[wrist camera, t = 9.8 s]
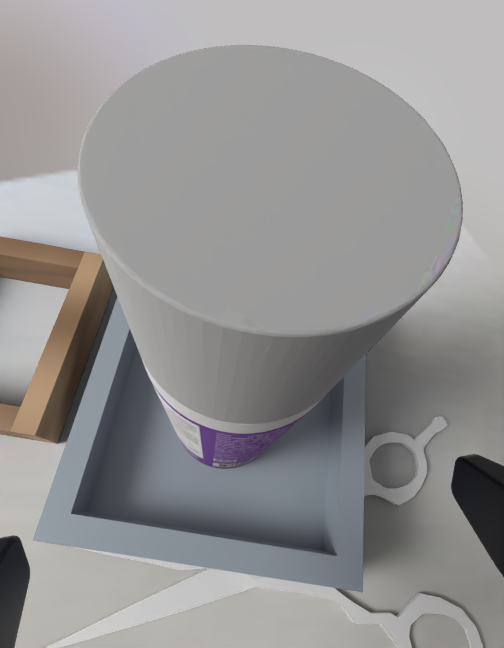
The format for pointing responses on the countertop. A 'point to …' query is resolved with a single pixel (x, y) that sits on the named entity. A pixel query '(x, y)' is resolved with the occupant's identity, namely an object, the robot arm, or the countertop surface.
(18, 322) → the countertop surface
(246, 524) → the tray
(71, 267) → the holder
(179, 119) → the container
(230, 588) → the scissors
